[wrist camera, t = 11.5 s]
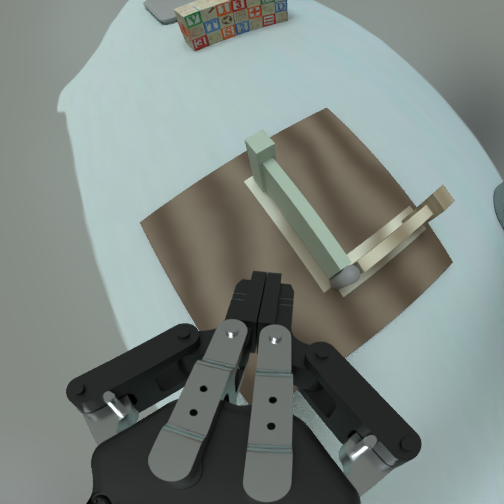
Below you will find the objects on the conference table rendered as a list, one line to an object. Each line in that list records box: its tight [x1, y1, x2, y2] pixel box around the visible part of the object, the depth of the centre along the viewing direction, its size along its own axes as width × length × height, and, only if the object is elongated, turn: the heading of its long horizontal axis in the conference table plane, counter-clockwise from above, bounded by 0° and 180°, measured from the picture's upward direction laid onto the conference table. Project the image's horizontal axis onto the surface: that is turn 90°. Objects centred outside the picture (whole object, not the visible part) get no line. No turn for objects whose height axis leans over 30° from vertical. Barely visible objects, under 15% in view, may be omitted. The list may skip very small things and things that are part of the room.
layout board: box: [140, 108, 453, 405], centre depth 31 cm, size 30×27×1 cm
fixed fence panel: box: [351, 185, 455, 274], centre depth 25 cm, size 12×2×8 cm, turn 123°
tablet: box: [143, 0, 197, 24], centre depth 48 cm, size 16×26×2 cm, turn 29°
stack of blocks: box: [174, 0, 288, 51], centre depth 36 cm, size 21×6×12 cm, turn 119°
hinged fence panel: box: [245, 130, 360, 289], centre depth 26 cm, size 16×2×8 cm, turn 32°
